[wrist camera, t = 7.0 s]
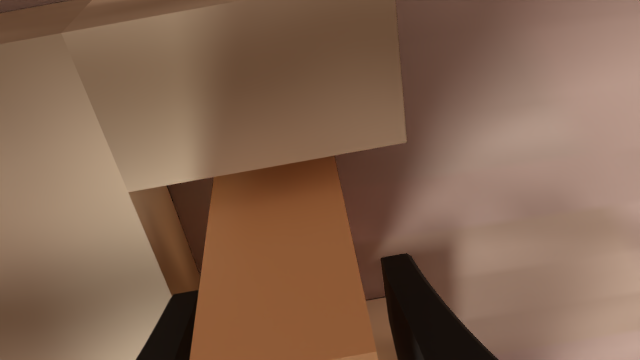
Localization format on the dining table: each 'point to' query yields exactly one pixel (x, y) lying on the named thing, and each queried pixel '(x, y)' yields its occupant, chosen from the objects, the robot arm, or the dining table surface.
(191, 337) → the robot arm
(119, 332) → the notched board
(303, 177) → the orange brown rectangular block
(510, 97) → the dining table surface
